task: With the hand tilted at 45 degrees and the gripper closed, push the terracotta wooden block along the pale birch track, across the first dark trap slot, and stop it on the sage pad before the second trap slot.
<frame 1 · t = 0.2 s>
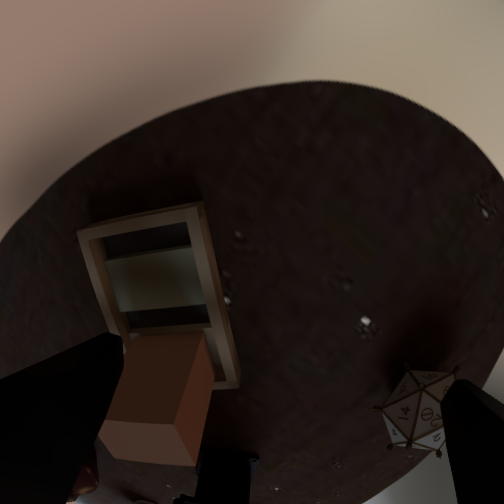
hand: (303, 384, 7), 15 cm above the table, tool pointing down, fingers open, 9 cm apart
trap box: (166, 302, 23), on the table
decorative turtle: (77, 443, 32), on the table
terracotta block: (159, 394, 19), point 6 cm above the table, slide at 0.0 cm
game die: (409, 380, 25), on the table
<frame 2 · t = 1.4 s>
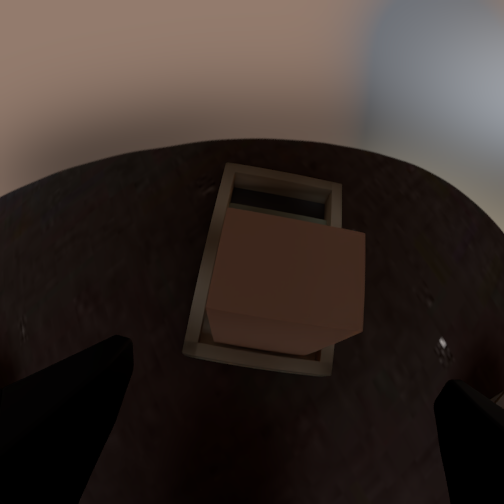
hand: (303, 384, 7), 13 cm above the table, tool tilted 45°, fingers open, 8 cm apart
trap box: (269, 269, 23), on the table
terracotta block: (275, 300, 16), point 6 cm above the table, slide at 0.0 cm
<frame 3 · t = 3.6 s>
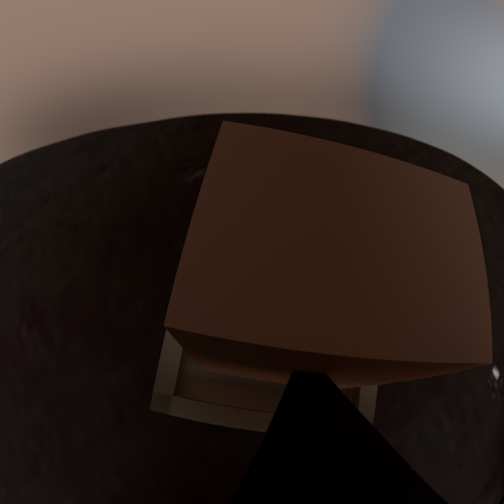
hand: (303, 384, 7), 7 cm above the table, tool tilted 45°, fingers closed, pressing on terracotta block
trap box: (280, 283, 16), on the table
terracotta block: (303, 308, 9), point 6 cm above the table, slide at 1.0 cm, touching gripper
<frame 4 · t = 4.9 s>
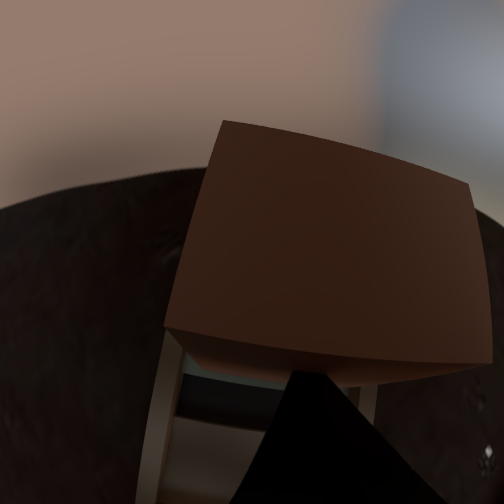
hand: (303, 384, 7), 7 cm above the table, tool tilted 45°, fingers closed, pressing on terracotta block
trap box: (264, 388, 13), on the table
terracotta block: (303, 307, 9), point 6 cm above the table, slide at 6.3 cm, touching gripper
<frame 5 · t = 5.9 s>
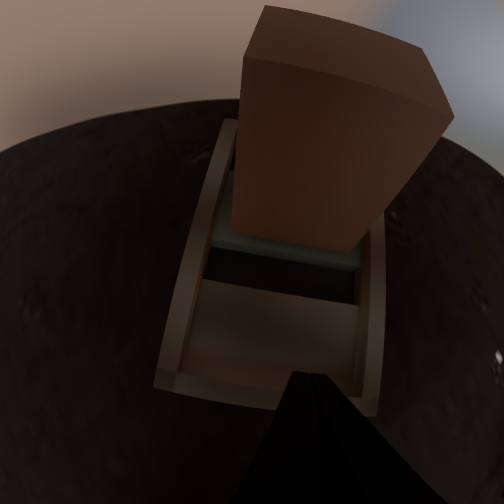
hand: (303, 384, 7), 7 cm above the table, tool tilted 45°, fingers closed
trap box: (284, 262, 16), on the table
terracotta block: (318, 145, 11), point 6 cm above the table, slide at 6.3 cm
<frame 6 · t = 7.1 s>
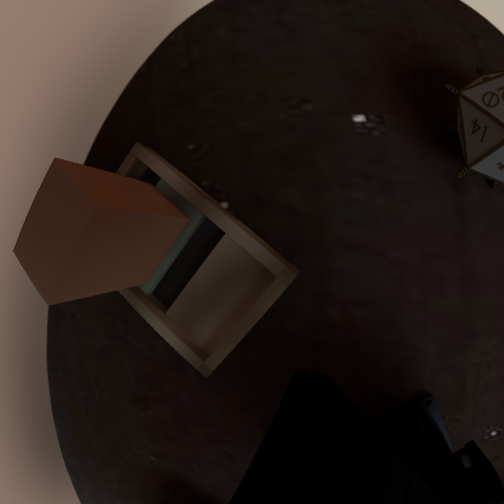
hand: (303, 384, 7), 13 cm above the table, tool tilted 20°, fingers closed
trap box: (180, 254, 22), on the table
terracotta block: (106, 232, 17), point 6 cm above the table, slide at 6.3 cm
game die: (481, 147, 17), on the table
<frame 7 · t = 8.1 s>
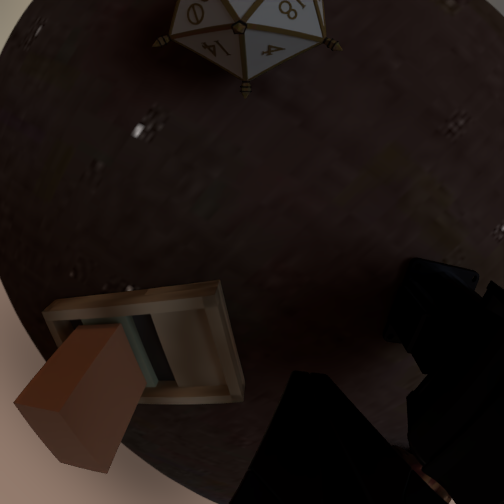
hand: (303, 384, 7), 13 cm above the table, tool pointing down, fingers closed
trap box: (144, 343, 23), on the table
decorative turtle: (390, 458, 27), on the table
terracotta block: (87, 393, 17), point 6 cm above the table, slide at 6.3 cm
game die: (253, 31, 15), on the table
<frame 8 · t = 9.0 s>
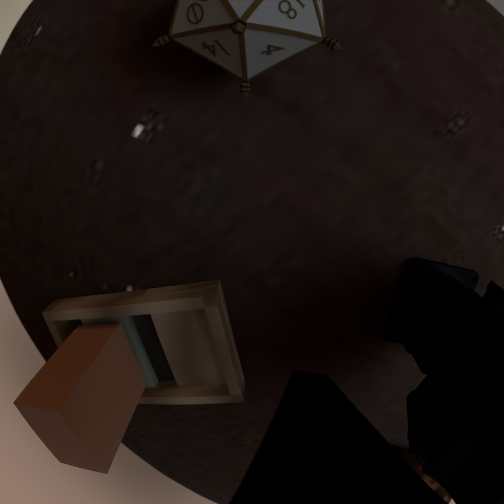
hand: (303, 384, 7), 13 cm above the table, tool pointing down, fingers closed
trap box: (144, 343, 23), on the table
decorative turtle: (390, 458, 27), on the table
terracotta block: (87, 393, 17), point 6 cm above the table, slide at 6.3 cm
game die: (253, 31, 15), on the table
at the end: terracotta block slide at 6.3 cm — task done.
